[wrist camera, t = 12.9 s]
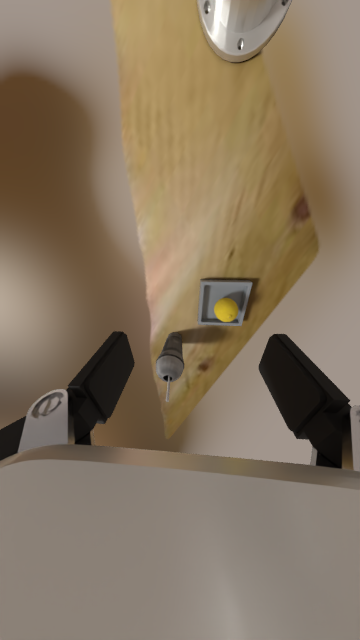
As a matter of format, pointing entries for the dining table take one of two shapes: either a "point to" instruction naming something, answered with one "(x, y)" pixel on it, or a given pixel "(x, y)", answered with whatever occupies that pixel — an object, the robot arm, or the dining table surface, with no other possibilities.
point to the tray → (222, 289)
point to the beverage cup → (170, 360)
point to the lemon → (226, 309)
